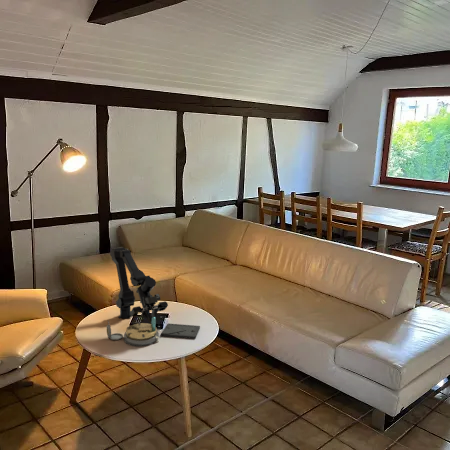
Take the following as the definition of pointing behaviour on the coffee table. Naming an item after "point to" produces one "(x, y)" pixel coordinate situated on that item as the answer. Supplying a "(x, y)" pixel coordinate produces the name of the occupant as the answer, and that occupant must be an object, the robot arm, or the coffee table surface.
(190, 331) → the picture frame
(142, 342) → the dark grey round disc
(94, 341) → the coffee table surface
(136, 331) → the tan round piece
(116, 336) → the pocket watch
